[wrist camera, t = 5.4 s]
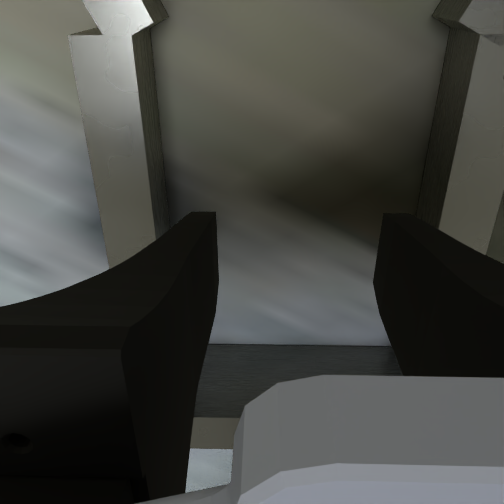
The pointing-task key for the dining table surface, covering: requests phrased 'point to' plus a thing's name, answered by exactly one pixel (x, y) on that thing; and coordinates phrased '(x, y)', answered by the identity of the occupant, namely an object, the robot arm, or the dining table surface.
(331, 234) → the dining table surface
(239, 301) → the dining table surface
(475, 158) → the socket
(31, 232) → the dining table surface
